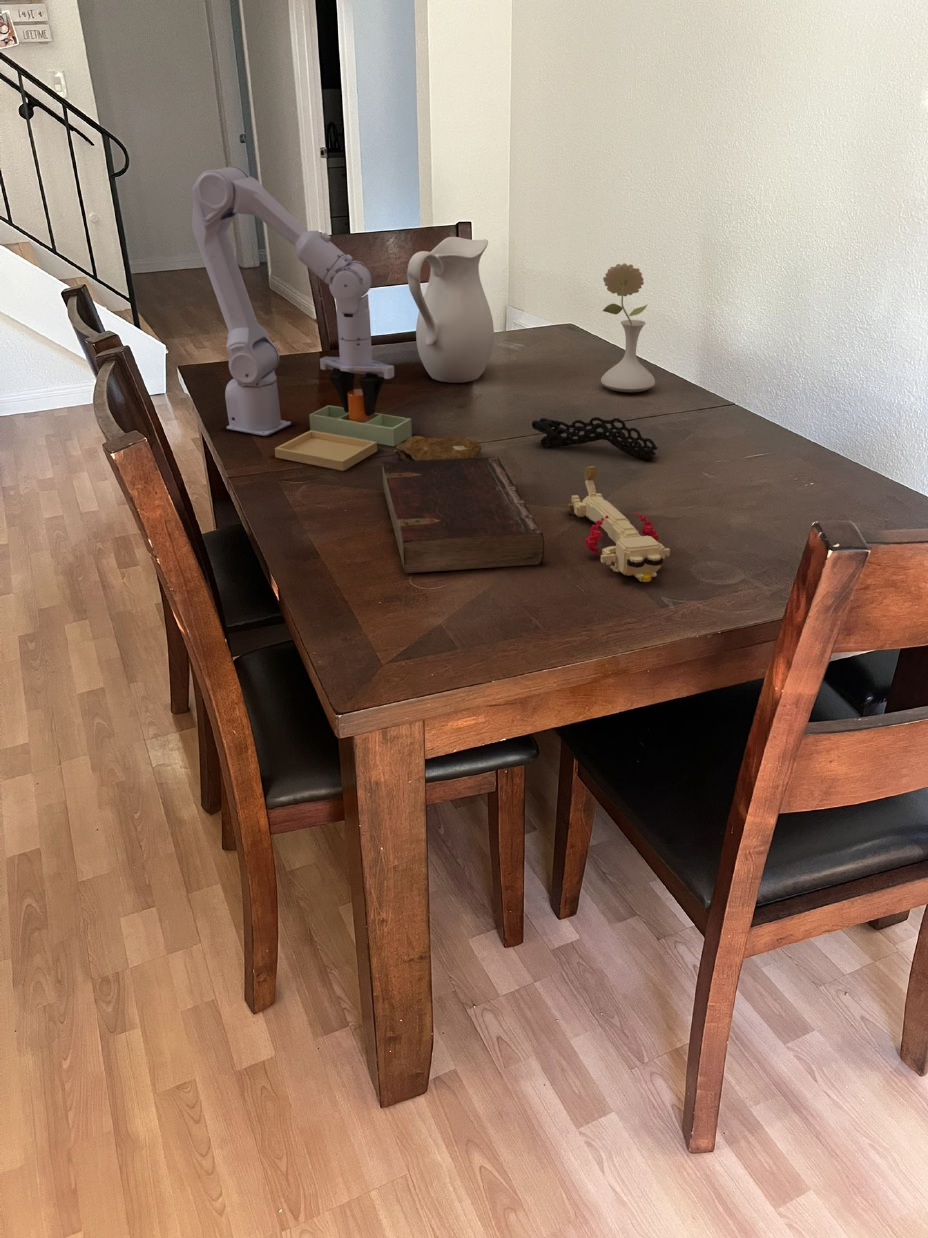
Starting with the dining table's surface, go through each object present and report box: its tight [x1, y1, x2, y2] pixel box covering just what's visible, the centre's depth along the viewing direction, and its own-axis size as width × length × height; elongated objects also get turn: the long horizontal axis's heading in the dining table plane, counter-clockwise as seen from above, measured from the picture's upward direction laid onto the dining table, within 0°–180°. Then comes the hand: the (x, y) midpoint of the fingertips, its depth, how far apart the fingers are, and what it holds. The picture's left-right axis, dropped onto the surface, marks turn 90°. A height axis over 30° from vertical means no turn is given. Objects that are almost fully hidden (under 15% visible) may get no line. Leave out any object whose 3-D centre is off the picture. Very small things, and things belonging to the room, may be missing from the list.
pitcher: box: [406, 236, 495, 384], centre depth 190 cm, size 24×17×28 cm
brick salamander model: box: [566, 465, 671, 583], centre depth 123 cm, size 10×9×25 cm
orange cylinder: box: [347, 388, 371, 422], centre depth 164 cm, size 4×4×5 cm
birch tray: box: [274, 430, 378, 472], centre depth 157 cm, size 14×11×2 cm
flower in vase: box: [600, 262, 656, 393], centre depth 185 cm, size 13×11×25 cm
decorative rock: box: [393, 435, 483, 461], centre depth 153 cm, size 11×4×15 cm
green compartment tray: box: [308, 404, 413, 447], centre depth 166 cm, size 18×6×3 cm, turn 63°
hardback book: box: [381, 456, 545, 574], centre depth 131 cm, size 29×19×5 cm, turn 10°
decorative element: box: [531, 416, 658, 461], centre depth 157 cm, size 22×5×6 cm, turn 66°
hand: (359, 412), depth 165 cm, fingers closed on orange cylinder, 4 cm apart
